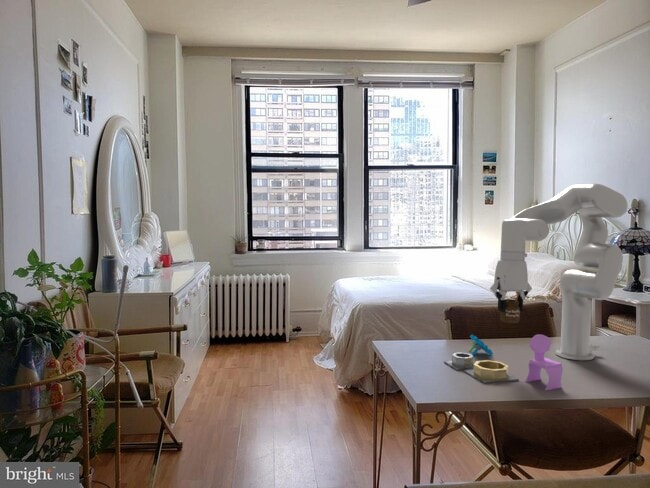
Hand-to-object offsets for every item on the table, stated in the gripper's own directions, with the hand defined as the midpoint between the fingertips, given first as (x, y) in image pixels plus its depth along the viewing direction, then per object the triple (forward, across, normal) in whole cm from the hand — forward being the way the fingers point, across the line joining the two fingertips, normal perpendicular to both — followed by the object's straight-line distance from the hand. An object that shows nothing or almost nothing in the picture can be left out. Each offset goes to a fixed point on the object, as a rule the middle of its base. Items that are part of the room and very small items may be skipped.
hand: (510, 310), depth 171 cm
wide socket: (+20, +9, +4) cm, 23 cm away
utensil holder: (+4, 0, 0) cm, 4 cm away
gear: (+20, -1, -18) cm, 27 cm away
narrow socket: (+20, +12, -8) cm, 25 cm away
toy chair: (+20, -2, +15) cm, 25 cm away
